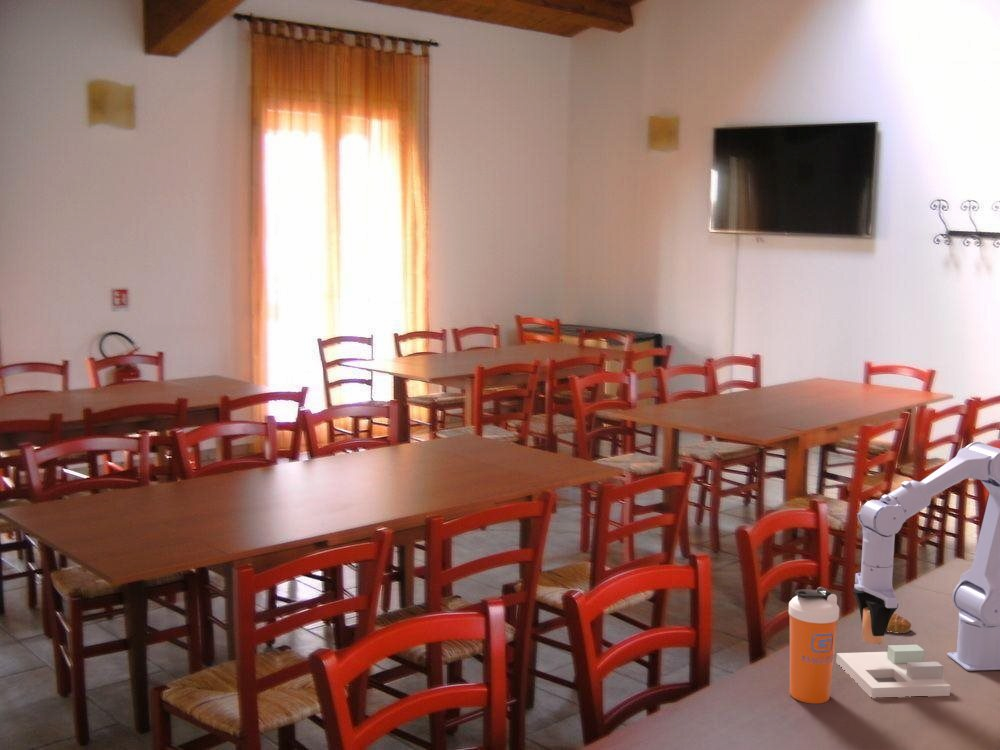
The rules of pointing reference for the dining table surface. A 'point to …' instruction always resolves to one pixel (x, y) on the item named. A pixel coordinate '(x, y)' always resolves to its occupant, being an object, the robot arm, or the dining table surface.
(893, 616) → the pastry
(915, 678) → the housing
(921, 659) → the block
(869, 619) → the peg
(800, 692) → the shaker bottle
